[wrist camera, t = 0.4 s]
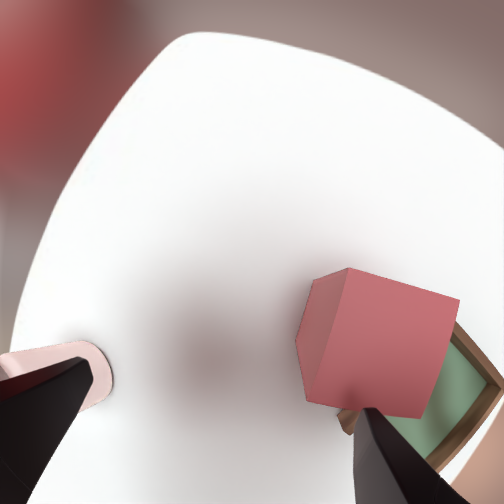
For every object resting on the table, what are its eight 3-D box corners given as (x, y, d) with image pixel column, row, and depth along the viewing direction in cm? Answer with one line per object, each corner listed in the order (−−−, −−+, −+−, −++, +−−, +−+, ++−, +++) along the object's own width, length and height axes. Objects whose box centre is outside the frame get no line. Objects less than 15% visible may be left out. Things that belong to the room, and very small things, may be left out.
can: (116, 351, 23) (22, 378, 12) (113, 409, 23) (33, 455, 11) (68, 331, 24) (-22, 342, 13) (67, 386, 24) (-13, 413, 12)
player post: (353, 355, 21) (420, 419, 8) (295, 340, 22) (306, 401, 9) (371, 296, 22) (460, 299, 9) (313, 280, 22) (349, 267, 10)
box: (416, 469, 18) (426, 484, 15) (337, 415, 21) (343, 430, 18) (492, 379, 19) (508, 385, 16) (428, 307, 21) (444, 309, 18)
